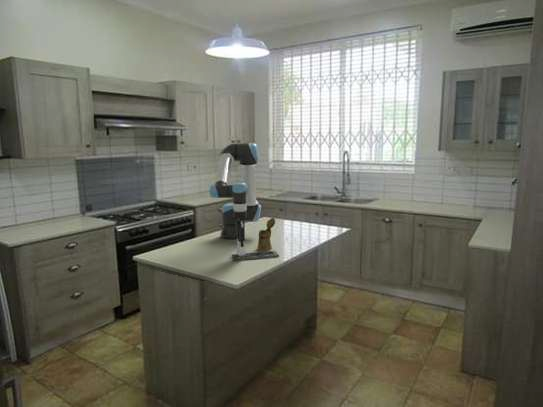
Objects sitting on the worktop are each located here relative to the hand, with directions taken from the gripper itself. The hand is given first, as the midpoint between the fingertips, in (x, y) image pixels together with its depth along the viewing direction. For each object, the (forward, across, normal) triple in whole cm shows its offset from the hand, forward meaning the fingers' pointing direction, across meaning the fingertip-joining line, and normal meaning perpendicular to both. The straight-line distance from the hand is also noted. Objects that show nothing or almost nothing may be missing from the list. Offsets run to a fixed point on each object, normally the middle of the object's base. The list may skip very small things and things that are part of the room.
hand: (241, 250), depth 222 cm
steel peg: (+2, 0, 0) cm, 2 cm away
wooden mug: (+4, -16, +19) cm, 25 cm away
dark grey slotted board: (+4, 0, +8) cm, 9 cm away
